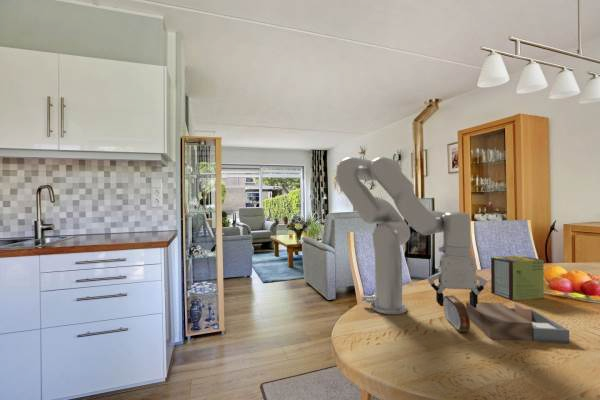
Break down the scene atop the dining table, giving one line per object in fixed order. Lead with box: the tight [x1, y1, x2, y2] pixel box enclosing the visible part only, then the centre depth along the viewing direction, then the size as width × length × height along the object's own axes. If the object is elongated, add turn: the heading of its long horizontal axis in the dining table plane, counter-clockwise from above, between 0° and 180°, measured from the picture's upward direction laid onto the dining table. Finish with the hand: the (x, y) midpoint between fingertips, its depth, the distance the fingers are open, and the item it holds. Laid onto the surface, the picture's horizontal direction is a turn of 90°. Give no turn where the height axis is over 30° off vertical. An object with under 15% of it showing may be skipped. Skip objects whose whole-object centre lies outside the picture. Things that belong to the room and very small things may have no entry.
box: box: [508, 307, 570, 344], centre depth 89 cm, size 9×16×4 cm, turn 172°
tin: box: [443, 294, 471, 333], centre depth 92 cm, size 15×3×8 cm, turn 172°
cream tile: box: [531, 322, 557, 329], centre depth 86 cm, size 5×5×2 cm
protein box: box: [490, 255, 545, 302], centre depth 121 cm, size 10×15×16 cm
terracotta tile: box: [514, 303, 532, 322], centre depth 93 cm, size 5×5×2 cm
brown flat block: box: [465, 301, 533, 342], centre depth 91 cm, size 11×16×5 cm
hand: (456, 305), depth 92 cm, fingers open, 9 cm apart
